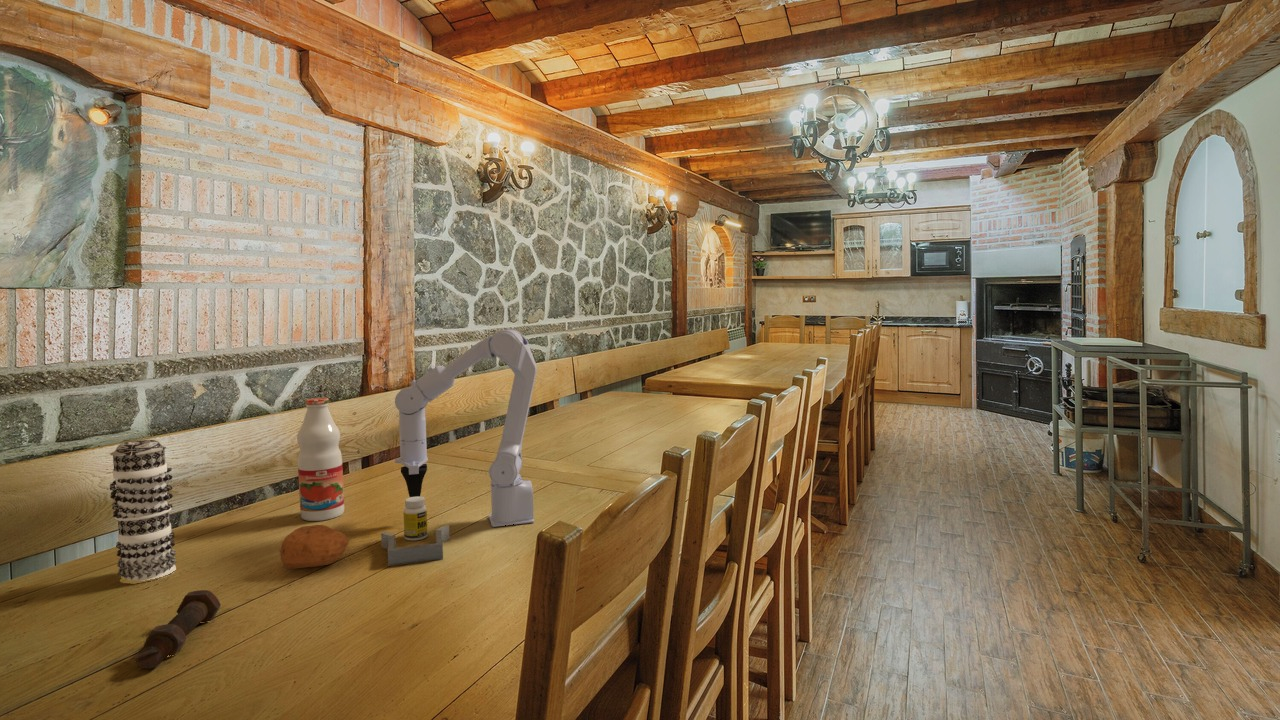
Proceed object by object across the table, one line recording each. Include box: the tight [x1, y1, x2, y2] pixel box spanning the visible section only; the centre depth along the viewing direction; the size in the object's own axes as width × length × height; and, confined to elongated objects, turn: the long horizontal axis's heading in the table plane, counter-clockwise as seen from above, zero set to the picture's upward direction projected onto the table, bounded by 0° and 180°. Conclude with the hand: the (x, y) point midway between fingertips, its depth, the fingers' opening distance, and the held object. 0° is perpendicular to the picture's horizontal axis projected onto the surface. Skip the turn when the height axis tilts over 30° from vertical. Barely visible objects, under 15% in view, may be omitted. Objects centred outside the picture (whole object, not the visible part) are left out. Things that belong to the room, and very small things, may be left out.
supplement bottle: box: [403, 496, 428, 541], centre depth 136 cm, size 5×5×8 cm
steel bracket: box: [380, 524, 450, 567], centre depth 128 cm, size 13×11×3 cm
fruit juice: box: [296, 397, 345, 522], centre depth 150 cm, size 9×9×28 cm
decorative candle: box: [109, 439, 177, 581], centre depth 117 cm, size 9×9×25 cm
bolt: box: [135, 589, 221, 669], centre depth 93 cm, size 6×5×15 cm
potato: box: [279, 524, 349, 569], centre depth 122 cm, size 9×11×8 cm
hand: (415, 497), depth 145 cm, fingers closed
